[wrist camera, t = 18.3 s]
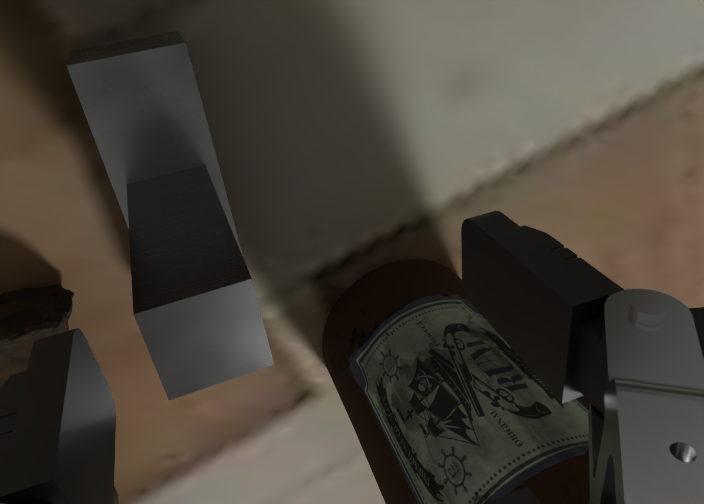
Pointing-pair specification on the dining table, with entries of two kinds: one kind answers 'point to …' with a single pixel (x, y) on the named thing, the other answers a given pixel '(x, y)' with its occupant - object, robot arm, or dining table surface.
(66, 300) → the hand tool
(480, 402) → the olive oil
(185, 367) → the scraper
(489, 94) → the dining table surface
